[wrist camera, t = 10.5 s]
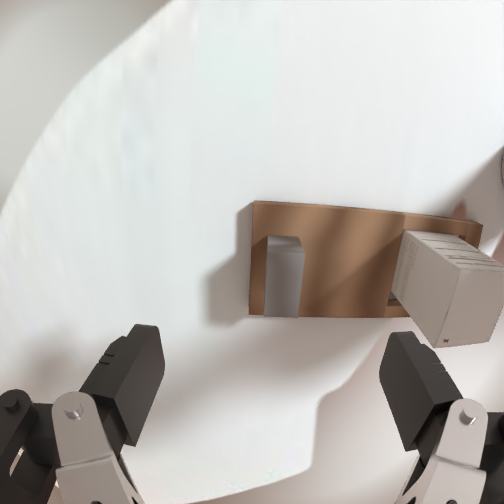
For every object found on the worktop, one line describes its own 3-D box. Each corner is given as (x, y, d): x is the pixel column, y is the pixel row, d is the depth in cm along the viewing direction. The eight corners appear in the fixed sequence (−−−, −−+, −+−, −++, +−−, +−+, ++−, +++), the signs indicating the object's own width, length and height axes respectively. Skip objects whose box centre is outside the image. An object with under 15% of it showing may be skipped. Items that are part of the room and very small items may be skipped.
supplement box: (434, 287, 33) (488, 345, 21) (384, 285, 33) (431, 351, 21) (449, 230, 30) (517, 272, 18) (397, 223, 30) (460, 269, 18)
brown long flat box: (476, 222, 29) (508, 238, 23) (452, 309, 33) (476, 335, 27) (254, 200, 30) (251, 215, 24) (249, 307, 34) (246, 341, 28)
